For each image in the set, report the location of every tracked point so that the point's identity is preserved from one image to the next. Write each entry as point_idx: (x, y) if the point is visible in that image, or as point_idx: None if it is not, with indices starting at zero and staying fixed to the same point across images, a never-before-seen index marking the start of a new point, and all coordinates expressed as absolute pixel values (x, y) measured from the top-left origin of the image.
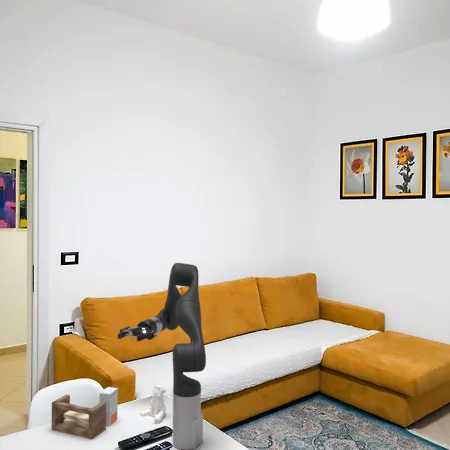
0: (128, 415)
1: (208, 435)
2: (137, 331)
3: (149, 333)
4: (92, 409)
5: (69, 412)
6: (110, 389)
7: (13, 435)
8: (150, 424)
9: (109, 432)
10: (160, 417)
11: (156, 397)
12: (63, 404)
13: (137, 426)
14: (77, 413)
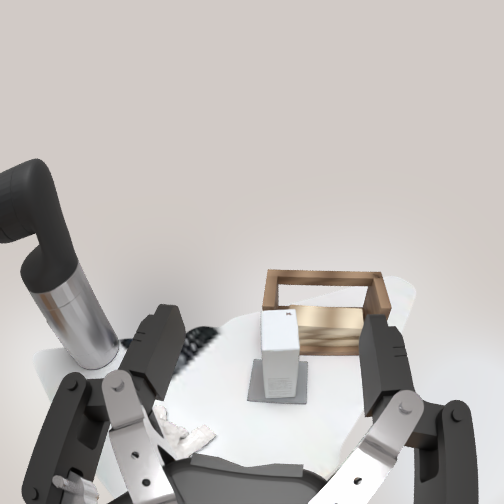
0: (252, 436)
1: (60, 375)
2: (237, 466)
3: (74, 379)
4: (272, 273)
5: (355, 316)
6: (278, 334)
7: (412, 293)
8: (176, 405)
9: (256, 354)
10: None
11: None
12: (350, 272)
13: (204, 391)
14: (335, 318)
